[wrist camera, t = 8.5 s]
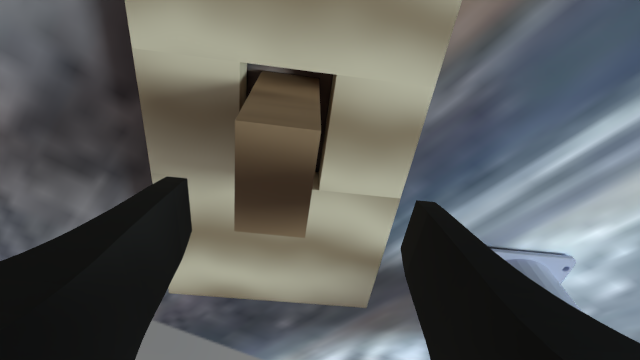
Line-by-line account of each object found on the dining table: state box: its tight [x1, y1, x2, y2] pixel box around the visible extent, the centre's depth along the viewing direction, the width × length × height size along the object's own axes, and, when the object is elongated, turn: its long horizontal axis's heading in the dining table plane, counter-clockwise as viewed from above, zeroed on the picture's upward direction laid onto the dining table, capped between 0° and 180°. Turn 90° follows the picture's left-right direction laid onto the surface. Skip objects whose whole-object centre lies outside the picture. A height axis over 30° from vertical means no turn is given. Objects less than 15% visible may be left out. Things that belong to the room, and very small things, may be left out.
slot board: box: [125, 0, 462, 308], centre depth 19 cm, size 22×14×2 cm, turn 173°
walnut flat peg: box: [234, 71, 321, 238], centre depth 16 cm, size 5×3×7 cm, turn 172°
